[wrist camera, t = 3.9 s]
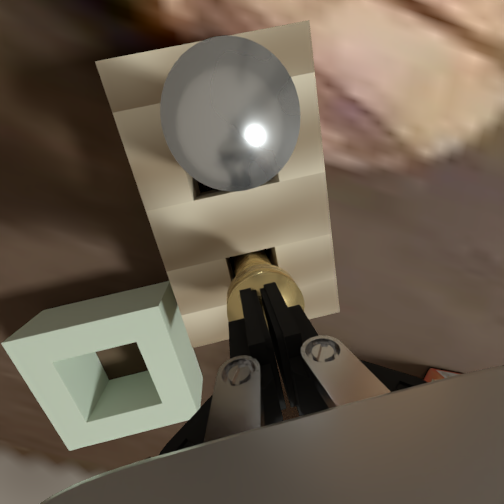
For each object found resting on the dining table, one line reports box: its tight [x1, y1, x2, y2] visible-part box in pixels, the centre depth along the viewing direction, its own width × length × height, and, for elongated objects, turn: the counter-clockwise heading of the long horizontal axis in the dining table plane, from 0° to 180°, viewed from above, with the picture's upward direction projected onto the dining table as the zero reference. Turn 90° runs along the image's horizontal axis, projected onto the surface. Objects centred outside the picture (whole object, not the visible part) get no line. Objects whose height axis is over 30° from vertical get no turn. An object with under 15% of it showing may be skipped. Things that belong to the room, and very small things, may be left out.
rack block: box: [1, 281, 203, 451], centre depth 20 cm, size 10×10×4 cm
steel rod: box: [160, 36, 301, 191], centre depth 12 cm, size 4×4×12 cm
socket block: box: [95, 20, 340, 348], centre depth 17 cm, size 16×10×5 cm, turn 12°
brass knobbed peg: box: [226, 249, 305, 327], centre depth 15 cm, size 4×4×8 cm
